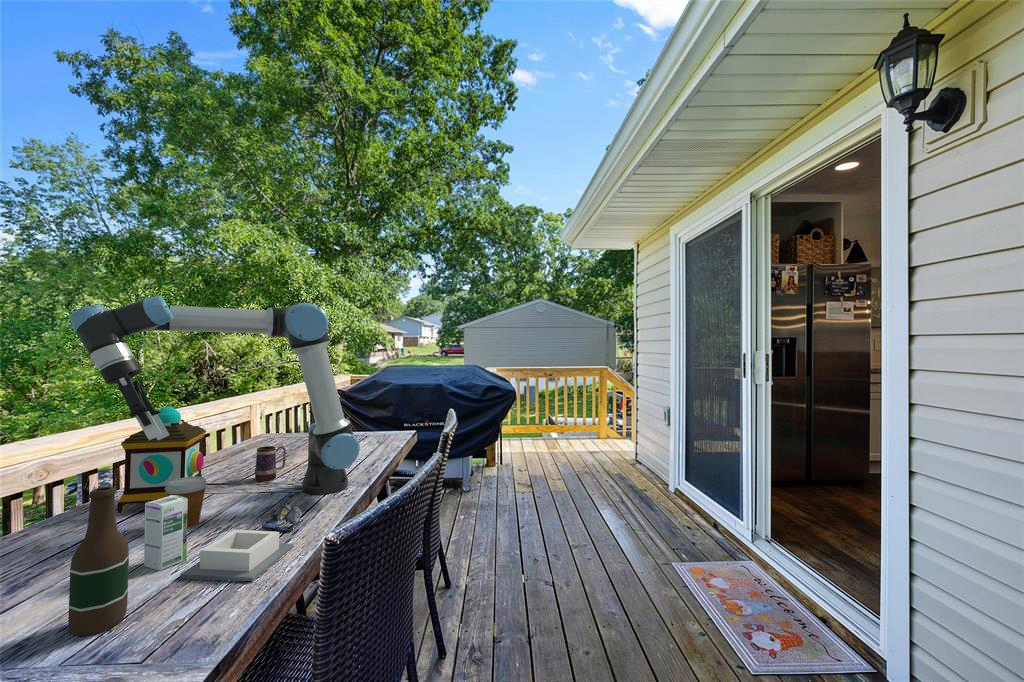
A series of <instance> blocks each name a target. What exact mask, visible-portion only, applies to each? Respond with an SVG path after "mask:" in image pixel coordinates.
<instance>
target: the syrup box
mask: <svg viewBox="0 0 1024 682" xmlns="http://www.w3.org/2000/svg"><path fill="white" fill-rule="evenodd" d="M187 502H188V500H187V498H185V497H182V496H176V495H171V496H169V497H165V498H162V499H158V500H155V501H151V502H147V503H144V505H145V506H144V545H143V546H144V548H143V549H144V552H143V553H144V554H143V558H144V559H143V566H144V567H146V568H148V569H151V570H154V571H158V572H162V571H164V570H165V569H167V568H170V567H172V566H175V565H177V564H179V563H182V562H185V561H186V560H187V557H188V555H187V553H188V551H187V550H188V547H187V545H188V541H187V539H188V528H187Z"/></svg>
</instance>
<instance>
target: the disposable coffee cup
mask: <svg viewBox="0 0 1024 682" xmlns="http://www.w3.org/2000/svg"><path fill="white" fill-rule="evenodd" d="M207 485H208V482H207V480H206V478H205V477H203V476H202V477H186V478H180V479H175V480H172V481H170V482H168V483H167V486H166V487H165V490H166V493H167V497H169V496H171V495H176V496H182V497H185V498H187V500H188V502H187V529H189V528H193V527H195V526H197V525H199V524H200V520H201V519H200V518H201V512H202V507H203V503H204V502H203V501H204V497H205V491H206V487H207Z"/></svg>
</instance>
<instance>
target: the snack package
mask: <svg viewBox="0 0 1024 682" xmlns="http://www.w3.org/2000/svg"><path fill="white" fill-rule="evenodd" d="M291 505H292V506H291ZM291 505H290V504H289V503H286V502H282V503H281V505H280V506H279V508H278V510H276V511H275V512H274V513H272V514H271V515H270V516H268V517H266V519H265V520H264V521H263V522H262V523H261V528H262V529H268V528H271V529H274V531H275V532H277V531H280V532H279V533H288V532H287V531H292V532H293V531H294V527H295V526H296V525H297V524H298V522H300V521H301V520H302V517H301V515H303V513H302V510H301V508H300V507H298V506H297V505H296V504H291ZM300 517H301V518H300ZM282 521H283V522H284V521H286V523H288V522H289V525H290V524H293V525H292V527H291V528H290V529H288V528H289V527H285V528H284V527H283V526H281V527H278V525H279V523H280V522H282ZM282 527H283V528H282Z"/></svg>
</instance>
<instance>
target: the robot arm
mask: <svg viewBox="0 0 1024 682" xmlns="http://www.w3.org/2000/svg"><path fill="white" fill-rule="evenodd" d="M68 318H69V319H68V320H69V321H70V324H71V325H72V327H73V329H74V333H75V334H76V335H77V337H78V338H79V340H80V341H81V344H82V345H83V347H84V348H85V350H86V351H87V353H88V355H89V356H90V358H91V359H90V360H89V362H90V364H94V365H95V366H96V368H97V369H98V370H100V372H99V374H100V376H101V378H102V379H103V381H104V382H105V384H107V385H114V384H116V385H117V386H118V390H119V391H120V393H121V394H122V397H123V398H124V400H125V403H126V404H127V407H128V409H129V411H130V413H129V417H130V418H134V417H135V419H136V420H137V422H138V424H139V426H140V427H141V430H143V431H144V432H145V434H146V436H147V438H148V439H149V440H151V439H153V438H157V440H160V439H162V438H165V437H167V436H169V433H168V431H167V430H166V428H165V426H164V424H163V423H162V421H161V419H160V418H159V416H158V414H159V413H160V411H159V410H160V409H155V407H154V405H153V404H152V402H151V401H150V399H149V397H147V394H146V391H145V390H144V389H143V386H142V383H140V381H138V380H135V379H134V377H136V376H138V375H140V374H142V370H143V369H142V368H141V366H140V364H139V363H138V361H137V360H136V359H134V357H135V356H134V354H133V352H132V350H131V349H130V347H129V345H128V343H127V342H126V340H125V339H124V338H126V337H129V336H133V335H135V334H138V333H141V332H145V331H146V332H152V331H159V332H161V331H162V332H168V331H169V332H172V331H173V332H198V333H199V332H201V333H204V332H205V333H233V334H234V333H235V334H237V333H240V334H265V335H267V336H268V337H273V338H274V337H275V338H283V339H287V340H288V345H289V349H290V351H292V352H294V353H296V354H297V357H298V362H299V365H300V368H301V369H300V370H301V373H302V375H303V381H304V383H305V384H304V385H305V387H306V391H307V395H308V399H309V402H310V406H311V410H312V414H313V418H314V423H311V424H310V425H309V426H308V433H307V434H308V445H307V446H308V447H307V468H306V471H305V473H304V476H303V480H302V482H301V491H302V493H305V494H310V495H327V493H328V494H333V493H332V492H334V493H338V492H340V490H341V491H343V489H344V490H346V489H347V488H348V487H347V486H349V478H348V475H347V474H348V473H347V471H346V468H347V467H350V466H352V465H353V463H355V462H356V460H357V458H359V455H360V451H361V445H360V442H359V440H358V438H357V436H355V435H354V431H353V428H352V425H351V424H352V423H351V420H349V419H347V418H345V416H344V413H343V408H342V403H341V400H340V397H339V396H340V395H339V393H338V389H337V385H336V381H335V376H334V372H333V370H332V369H333V368H332V365H331V362H330V361H331V360H330V357H329V352H328V350H327V347H328V345H329V343H331V342H330V341H331V340H330V336H329V332H328V329H329V318H328V314H327V313H326V312H325V310H324V309H323V308H322V307H320V306H319V305H318V304H314V303H310V302H299V303H296V304H294V305H291V306H287V307H285V306H284V307H269V308H267V309H266V310H265V309H247V308H244V309H243V308H228V307H208V306H207V307H206V306H187V305H168V304H167V302H166V301H165V298H164V297H163V296H161V295H156V296H152V297H145V298H144V299H141V300H137V301H136V302H135V301H134V302H132V303H129V304H126V305H122V306H119V307H116V308H113V309H109V310H108V309H107V308H106V307H105V306H104V305H103V304H93V305H89V306H84V307H80V308H78V309H76V310H74V311H73V312H72V313H70V315H69V317H68ZM346 487H347V488H346ZM337 491H338V492H337Z"/></svg>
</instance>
